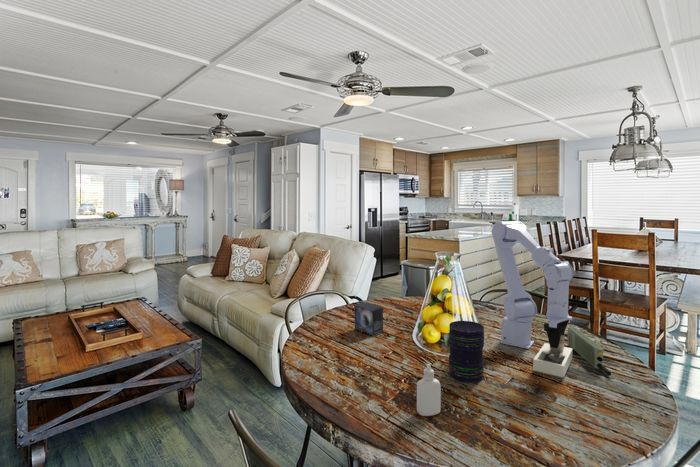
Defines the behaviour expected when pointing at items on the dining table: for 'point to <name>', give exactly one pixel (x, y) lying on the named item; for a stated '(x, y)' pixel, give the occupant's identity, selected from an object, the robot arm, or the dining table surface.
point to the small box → (368, 318)
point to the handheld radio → (586, 349)
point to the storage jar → (466, 351)
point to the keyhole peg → (558, 351)
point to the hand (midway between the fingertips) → (556, 343)
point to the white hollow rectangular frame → (550, 367)
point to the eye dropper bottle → (428, 394)
